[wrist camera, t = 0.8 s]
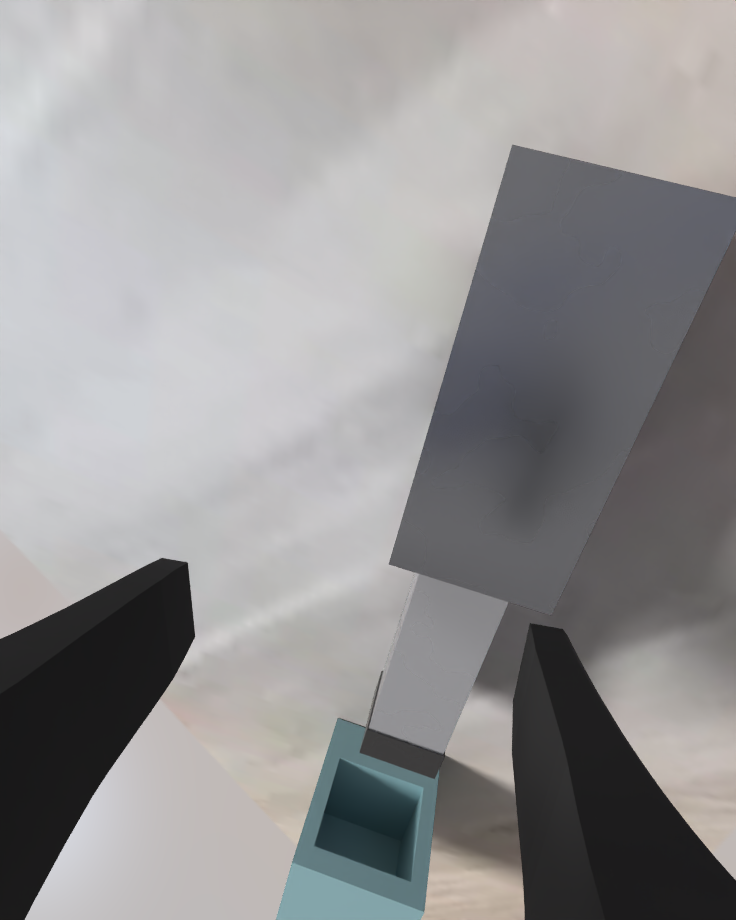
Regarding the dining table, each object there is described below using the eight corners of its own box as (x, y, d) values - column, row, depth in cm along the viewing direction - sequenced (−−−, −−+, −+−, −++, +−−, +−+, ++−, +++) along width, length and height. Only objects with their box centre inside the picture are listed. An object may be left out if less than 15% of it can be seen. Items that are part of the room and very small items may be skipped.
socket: (441, 753, 26) (424, 912, 20) (413, 818, 28) (391, 977, 22) (337, 718, 26) (292, 862, 20) (318, 784, 28) (272, 931, 23)
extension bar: (628, 259, 14) (654, 269, 12) (441, 715, 22) (434, 779, 19) (522, 232, 14) (527, 236, 12) (374, 692, 22) (359, 752, 19)
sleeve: (663, 204, 16) (749, 200, 10) (537, 506, 20) (551, 615, 15) (507, 166, 16) (512, 144, 11) (417, 471, 20) (388, 564, 15)
